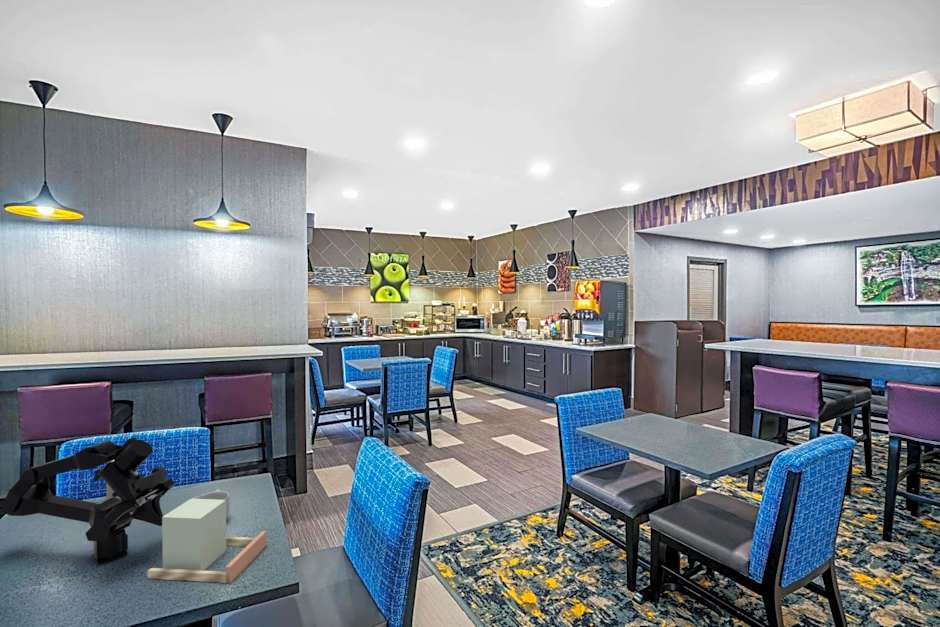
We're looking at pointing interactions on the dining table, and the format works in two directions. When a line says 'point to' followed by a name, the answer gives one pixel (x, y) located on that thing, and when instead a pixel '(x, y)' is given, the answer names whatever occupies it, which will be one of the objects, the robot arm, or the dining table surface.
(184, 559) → the sage block
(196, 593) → the dining table surface
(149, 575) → the guide chute
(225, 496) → the teacup
